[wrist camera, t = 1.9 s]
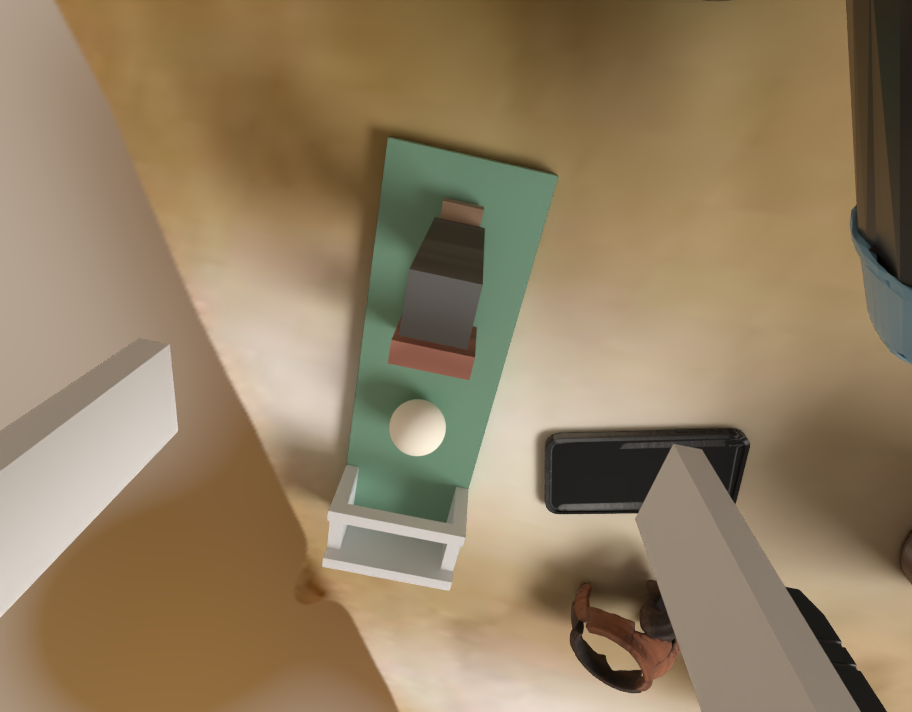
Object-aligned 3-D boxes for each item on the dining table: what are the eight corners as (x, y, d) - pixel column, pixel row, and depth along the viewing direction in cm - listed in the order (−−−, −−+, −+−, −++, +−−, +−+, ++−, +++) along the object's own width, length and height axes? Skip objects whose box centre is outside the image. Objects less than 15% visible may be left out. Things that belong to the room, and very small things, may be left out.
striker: (422, 192, 29) (388, 239, 19) (505, 211, 29) (513, 266, 19) (399, 332, 33) (361, 429, 23) (471, 347, 33) (464, 449, 23)
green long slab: (391, 136, 28) (368, 144, 23) (556, 174, 29) (571, 190, 24) (342, 512, 43) (321, 570, 38) (453, 534, 43) (448, 595, 38)
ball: (398, 383, 35) (388, 414, 32) (452, 394, 35) (448, 427, 32) (391, 427, 37) (380, 461, 33) (442, 437, 37) (437, 473, 34)
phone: (733, 512, 39) (545, 514, 40) (727, 502, 40) (544, 504, 41) (753, 432, 35) (546, 438, 37) (746, 423, 36) (544, 429, 38)
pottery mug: (651, 636, 49) (625, 714, 43) (574, 570, 51) (540, 635, 45) (736, 596, 41) (719, 684, 35) (641, 519, 43) (610, 590, 37)
